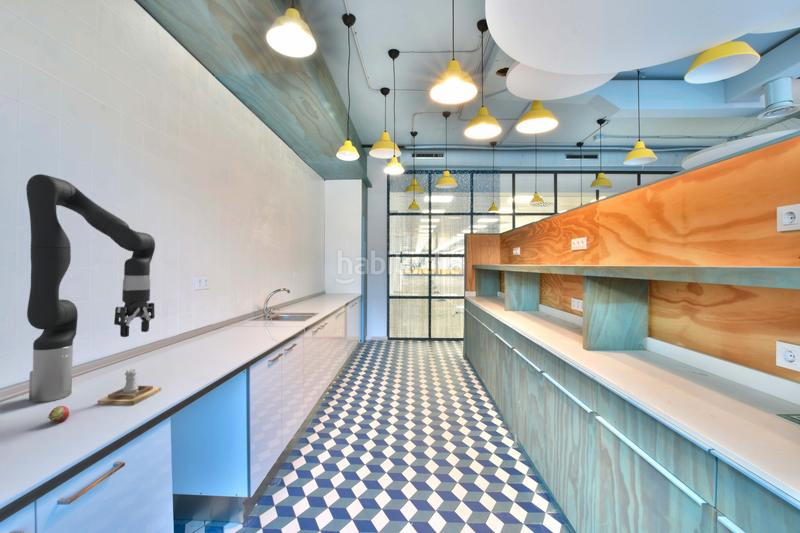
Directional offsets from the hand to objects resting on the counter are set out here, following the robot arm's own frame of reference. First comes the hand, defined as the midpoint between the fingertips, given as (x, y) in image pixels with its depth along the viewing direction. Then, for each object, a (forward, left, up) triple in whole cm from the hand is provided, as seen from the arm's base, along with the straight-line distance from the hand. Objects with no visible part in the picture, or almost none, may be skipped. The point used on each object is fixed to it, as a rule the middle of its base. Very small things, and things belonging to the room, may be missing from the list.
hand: (135, 334), depth 113 cm
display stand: (+1, -2, -22) cm, 22 cm away
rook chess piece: (0, -2, -20) cm, 20 cm away
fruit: (-6, -19, -22) cm, 30 cm away
